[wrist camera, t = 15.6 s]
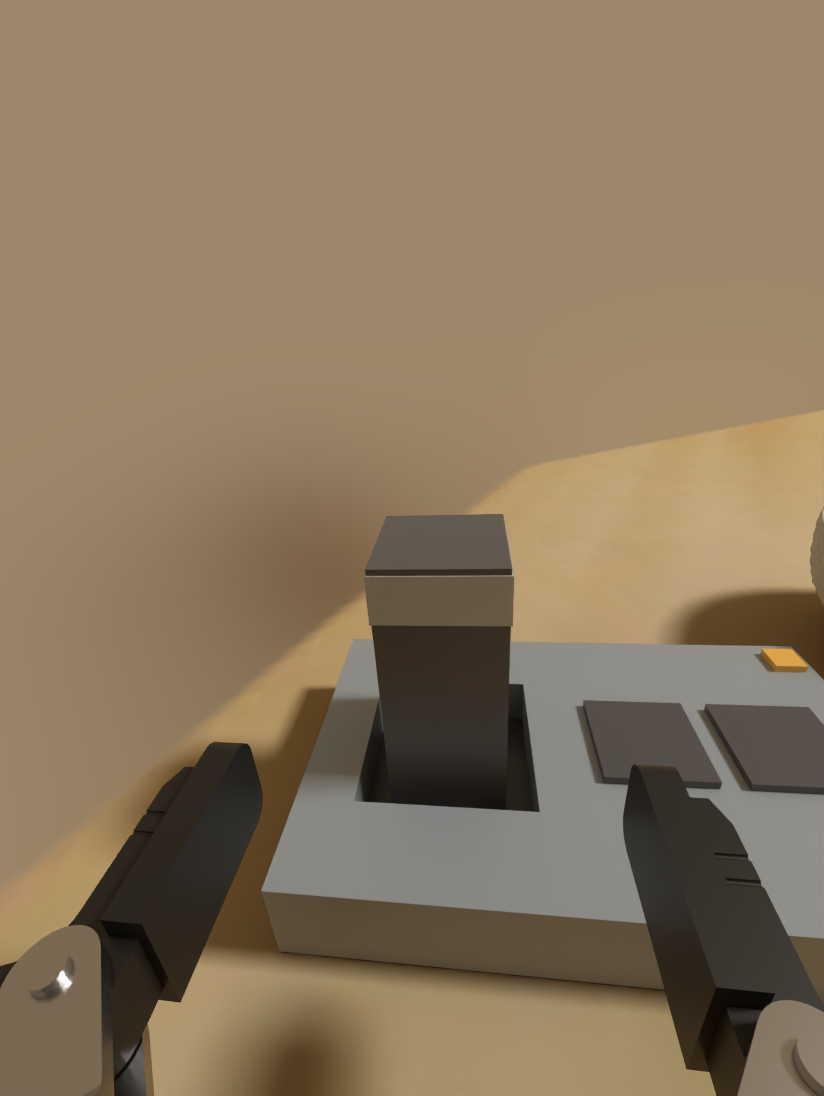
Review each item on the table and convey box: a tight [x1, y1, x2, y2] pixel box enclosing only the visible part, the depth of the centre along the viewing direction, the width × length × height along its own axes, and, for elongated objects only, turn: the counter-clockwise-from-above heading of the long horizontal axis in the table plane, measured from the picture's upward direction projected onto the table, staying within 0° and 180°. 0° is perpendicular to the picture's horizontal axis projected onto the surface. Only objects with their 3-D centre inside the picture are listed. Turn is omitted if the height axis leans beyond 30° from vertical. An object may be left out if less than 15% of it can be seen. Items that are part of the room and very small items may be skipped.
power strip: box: [261, 639, 824, 1004], centre depth 19 cm, size 20×12×3 cm, turn 84°
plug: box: [364, 514, 514, 810], centre depth 17 cm, size 4×4×10 cm
